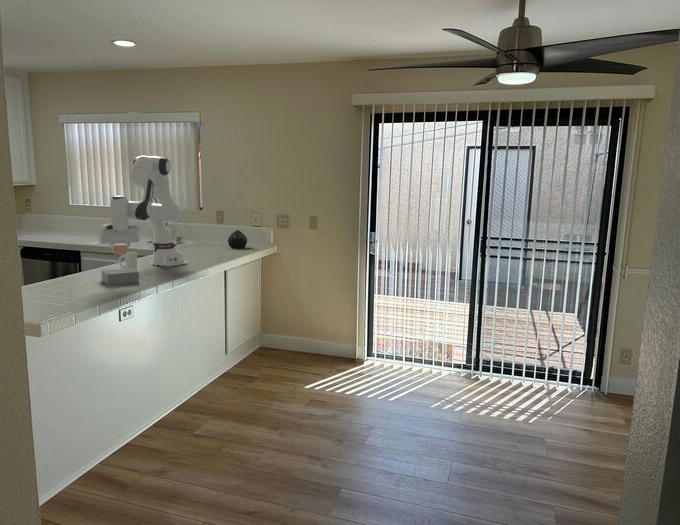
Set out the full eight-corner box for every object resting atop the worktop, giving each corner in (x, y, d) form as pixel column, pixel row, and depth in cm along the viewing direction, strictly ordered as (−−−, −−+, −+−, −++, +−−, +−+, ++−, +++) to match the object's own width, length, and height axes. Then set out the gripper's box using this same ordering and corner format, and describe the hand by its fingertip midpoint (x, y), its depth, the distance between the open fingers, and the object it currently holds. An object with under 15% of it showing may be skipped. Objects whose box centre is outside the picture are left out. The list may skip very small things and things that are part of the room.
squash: (235, 243, 401) (244, 228, 408) (221, 242, 409) (230, 227, 415) (245, 254, 411) (253, 238, 418) (231, 252, 419) (239, 237, 426)
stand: (131, 278, 293) (131, 267, 292) (138, 282, 284) (138, 271, 283) (101, 281, 283) (101, 270, 282) (108, 285, 274) (107, 274, 273)
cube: (123, 253, 284) (123, 244, 283) (126, 254, 280) (126, 245, 280) (113, 253, 281) (113, 244, 280) (116, 255, 277) (116, 245, 276)
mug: (137, 271, 312) (137, 251, 309) (136, 273, 305) (136, 253, 303) (119, 271, 309) (119, 251, 307) (118, 273, 302) (117, 253, 300)
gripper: (137, 224, 287) (137, 249, 289) (97, 225, 274) (98, 251, 276) (141, 225, 282) (141, 251, 285) (101, 226, 269) (101, 253, 272)
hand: (120, 251), depth 280 cm, fingers closed on cube, 5 cm apart
